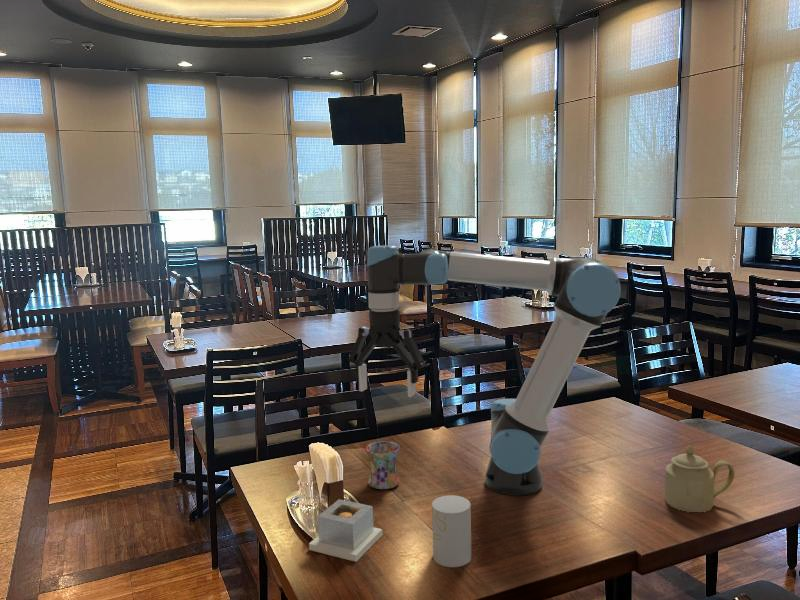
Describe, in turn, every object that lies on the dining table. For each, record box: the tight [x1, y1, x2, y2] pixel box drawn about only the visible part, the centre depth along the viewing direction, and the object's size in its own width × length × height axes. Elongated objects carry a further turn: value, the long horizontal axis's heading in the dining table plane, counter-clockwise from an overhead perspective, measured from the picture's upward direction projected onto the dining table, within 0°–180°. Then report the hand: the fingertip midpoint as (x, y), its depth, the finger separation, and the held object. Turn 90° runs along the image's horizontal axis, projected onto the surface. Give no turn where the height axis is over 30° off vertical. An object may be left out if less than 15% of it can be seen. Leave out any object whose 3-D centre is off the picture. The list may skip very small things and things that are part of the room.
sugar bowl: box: [664, 444, 735, 513], centre depth 157 cm, size 15×11×15 cm
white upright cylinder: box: [431, 494, 472, 568], centre depth 136 cm, size 8×8×12 cm
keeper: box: [308, 512, 383, 563], centre depth 143 cm, size 12×12×6 cm
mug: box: [365, 440, 401, 490], centre depth 173 cm, size 12×9×11 cm
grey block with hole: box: [317, 498, 375, 550], centre depth 143 cm, size 9×9×6 cm
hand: (387, 392), depth 159 cm, fingers open, 13 cm apart
